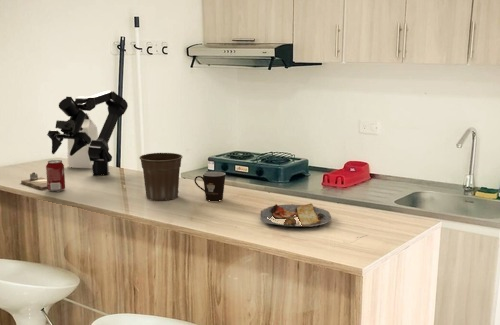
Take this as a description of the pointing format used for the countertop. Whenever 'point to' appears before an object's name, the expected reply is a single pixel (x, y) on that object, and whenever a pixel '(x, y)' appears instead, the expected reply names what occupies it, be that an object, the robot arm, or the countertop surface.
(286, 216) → the food plate
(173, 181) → the plant pot
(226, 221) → the countertop surface
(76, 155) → the milk
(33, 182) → the carrier board
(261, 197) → the countertop surface
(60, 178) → the soda can
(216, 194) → the coffee mug
